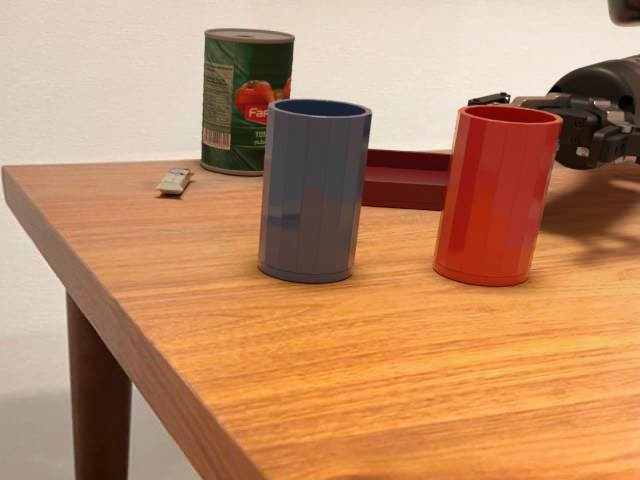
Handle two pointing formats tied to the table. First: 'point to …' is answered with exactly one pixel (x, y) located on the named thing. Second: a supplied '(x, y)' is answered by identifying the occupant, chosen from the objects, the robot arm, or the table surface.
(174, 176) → the granola bar
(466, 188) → the red cup
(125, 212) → the table surface
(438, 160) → the red tray
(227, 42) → the canned tomato
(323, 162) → the blue cup
